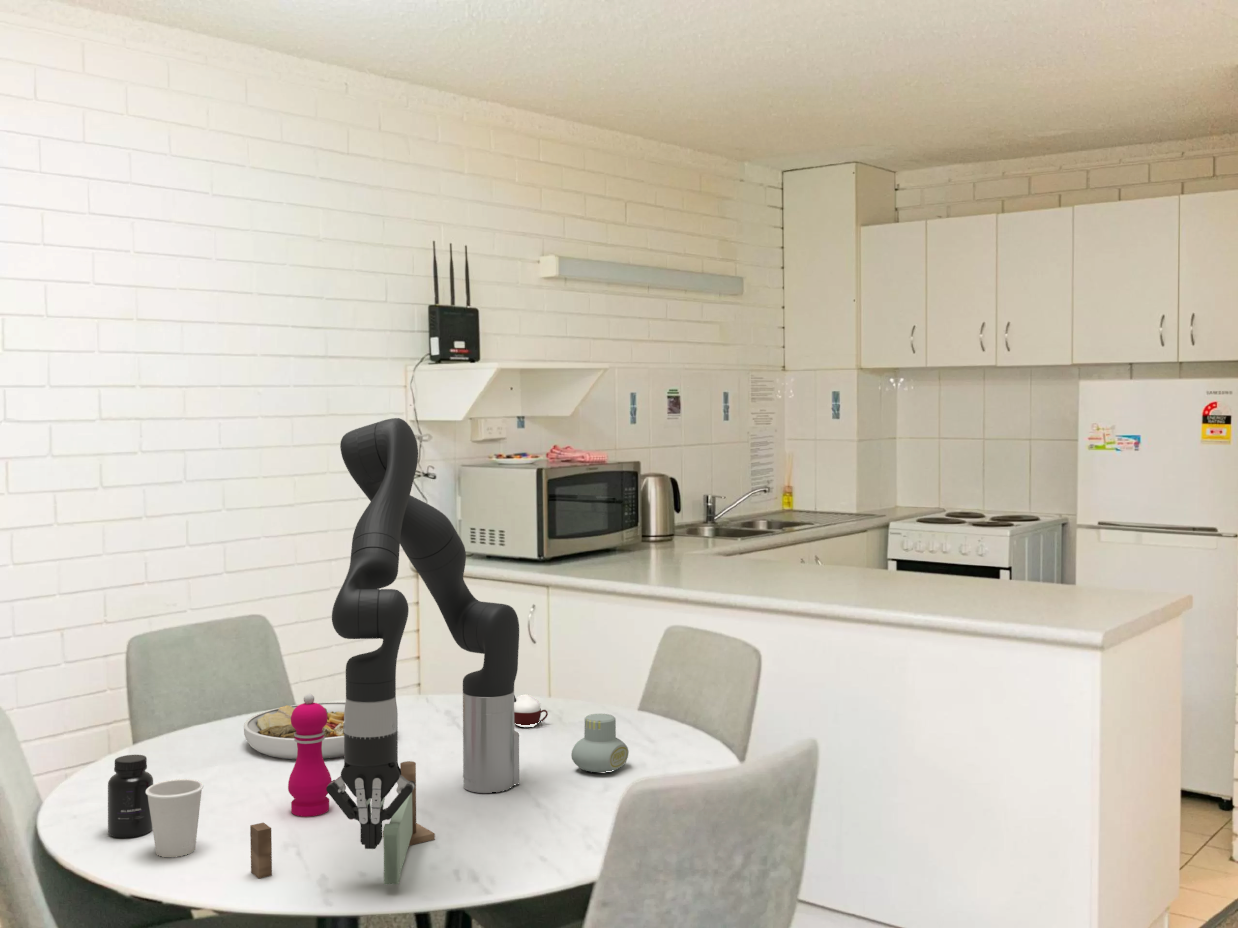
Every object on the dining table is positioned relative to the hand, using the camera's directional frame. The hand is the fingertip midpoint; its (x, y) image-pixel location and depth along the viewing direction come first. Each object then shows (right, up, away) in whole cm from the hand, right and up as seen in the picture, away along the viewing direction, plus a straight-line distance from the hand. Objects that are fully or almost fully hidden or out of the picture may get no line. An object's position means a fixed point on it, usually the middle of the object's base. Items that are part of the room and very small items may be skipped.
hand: (371, 846), depth 174 cm
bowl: (-25, -2, +74) cm, 78 cm away
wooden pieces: (-6, -5, +11) cm, 14 cm away
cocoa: (+16, -1, +86) cm, 87 cm away
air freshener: (+32, -3, +55) cm, 63 cm away
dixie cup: (-33, -5, +12) cm, 35 cm away
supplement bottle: (-43, -4, +21) cm, 48 cm away
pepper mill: (-17, -4, +31) cm, 35 cm away
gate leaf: (+3, -3, +6) cm, 7 cm away
